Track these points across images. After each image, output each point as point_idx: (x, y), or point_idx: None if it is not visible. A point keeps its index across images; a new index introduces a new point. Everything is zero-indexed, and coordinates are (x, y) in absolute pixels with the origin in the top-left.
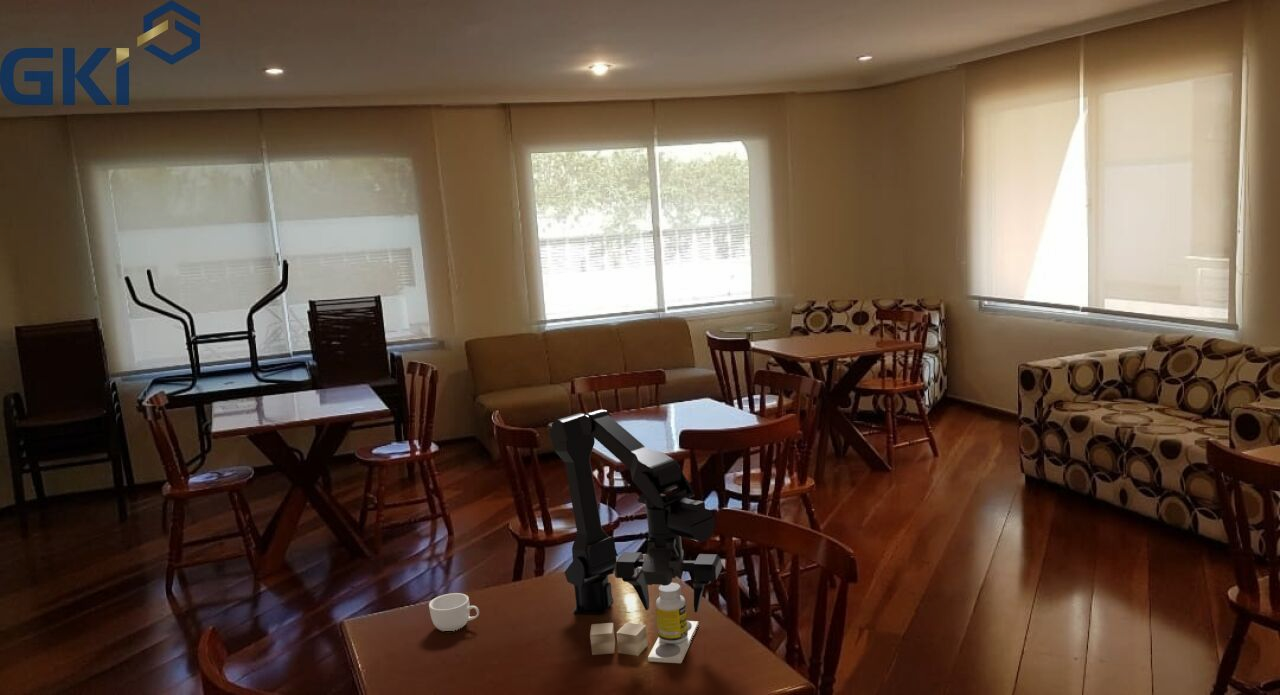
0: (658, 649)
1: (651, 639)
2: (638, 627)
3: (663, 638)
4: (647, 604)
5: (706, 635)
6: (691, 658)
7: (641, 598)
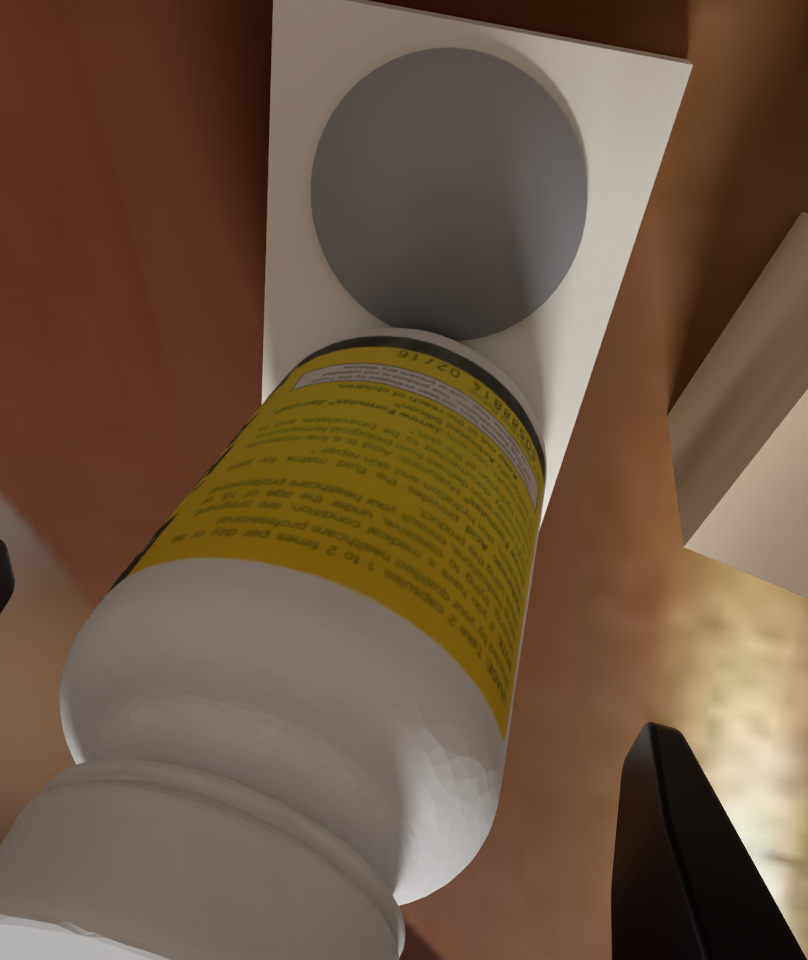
0: (550, 230)
1: (624, 504)
2: (793, 516)
3: (485, 377)
4: (645, 802)
5: (182, 485)
6: (211, 106)
7: (765, 935)
